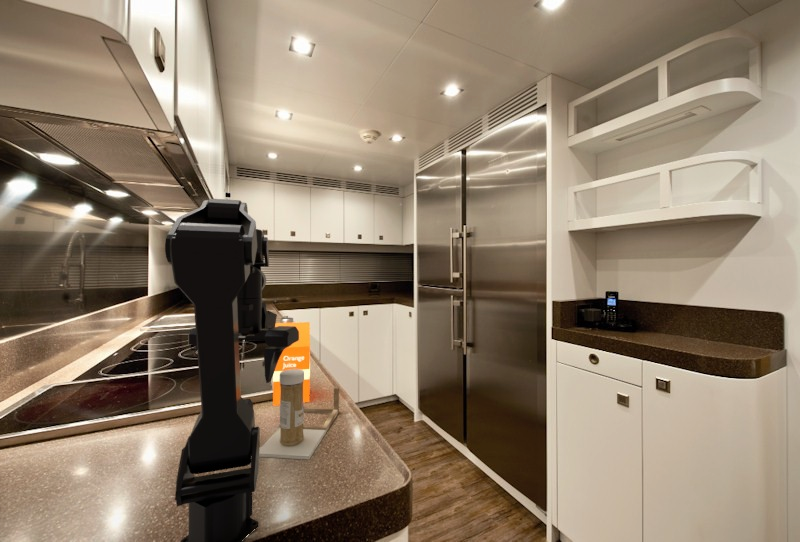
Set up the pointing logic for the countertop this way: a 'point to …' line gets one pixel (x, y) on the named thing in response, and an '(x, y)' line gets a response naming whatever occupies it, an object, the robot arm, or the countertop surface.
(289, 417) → the sprinkles bottle
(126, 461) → the countertop surface
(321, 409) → the frame
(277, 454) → the mat
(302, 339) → the orange juice
